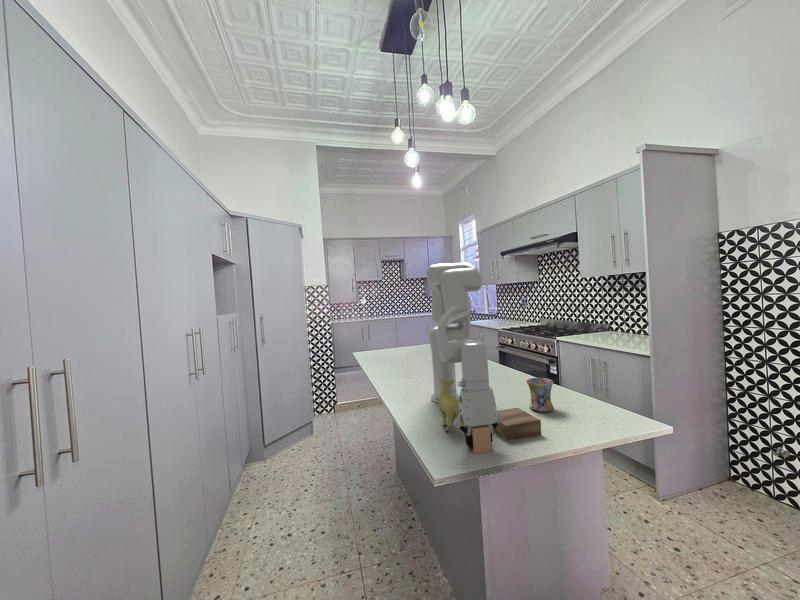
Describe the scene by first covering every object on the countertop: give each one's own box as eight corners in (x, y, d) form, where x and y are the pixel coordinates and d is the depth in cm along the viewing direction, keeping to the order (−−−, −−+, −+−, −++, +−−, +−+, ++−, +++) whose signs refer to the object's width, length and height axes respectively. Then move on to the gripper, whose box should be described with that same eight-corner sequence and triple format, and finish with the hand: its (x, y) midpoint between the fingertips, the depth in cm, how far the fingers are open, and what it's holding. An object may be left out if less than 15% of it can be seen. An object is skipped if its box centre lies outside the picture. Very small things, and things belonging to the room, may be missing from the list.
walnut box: (487, 427, 110) (486, 412, 110) (518, 421, 112) (517, 407, 112) (506, 442, 98) (506, 426, 98) (541, 436, 101) (540, 420, 101)
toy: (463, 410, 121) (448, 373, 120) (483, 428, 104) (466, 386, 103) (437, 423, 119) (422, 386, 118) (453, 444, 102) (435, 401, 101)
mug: (560, 412, 117) (558, 383, 117) (534, 414, 117) (533, 385, 117) (544, 401, 129) (542, 375, 129) (521, 403, 129) (519, 376, 129)
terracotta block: (468, 445, 97) (466, 422, 97) (484, 443, 98) (482, 420, 98) (474, 453, 92) (473, 428, 92) (491, 451, 93) (489, 426, 93)
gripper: (451, 391, 89) (455, 456, 90) (509, 384, 92) (513, 448, 92) (443, 383, 97) (447, 444, 97) (497, 378, 100) (500, 436, 100)
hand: (479, 445), depth 95 cm, fingers closed on terracotta block, 5 cm apart
